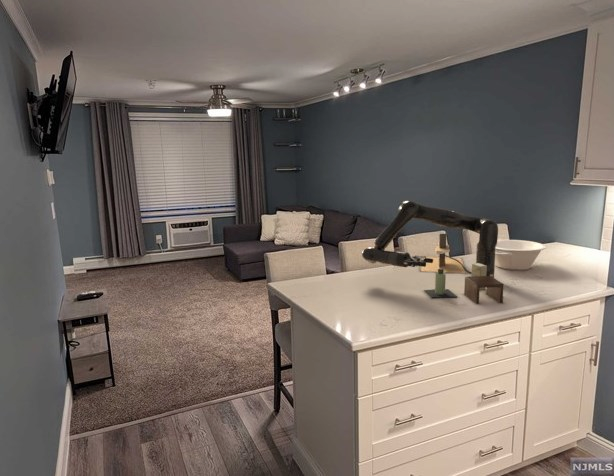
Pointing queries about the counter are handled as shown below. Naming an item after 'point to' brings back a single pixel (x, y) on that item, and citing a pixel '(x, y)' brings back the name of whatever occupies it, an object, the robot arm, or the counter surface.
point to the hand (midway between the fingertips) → (429, 262)
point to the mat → (447, 295)
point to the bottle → (440, 282)
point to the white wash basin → (516, 254)
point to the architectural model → (443, 259)
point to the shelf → (479, 282)
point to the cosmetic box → (479, 270)
